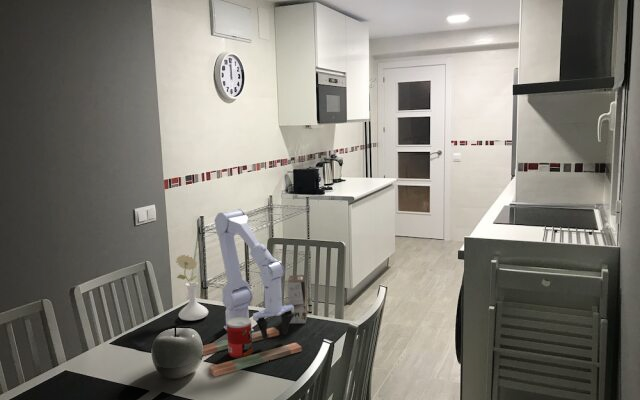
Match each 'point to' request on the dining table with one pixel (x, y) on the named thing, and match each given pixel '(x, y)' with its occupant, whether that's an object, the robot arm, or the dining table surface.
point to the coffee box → (298, 298)
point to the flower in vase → (190, 292)
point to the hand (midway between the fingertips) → (274, 335)
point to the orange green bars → (251, 359)
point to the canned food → (239, 337)
